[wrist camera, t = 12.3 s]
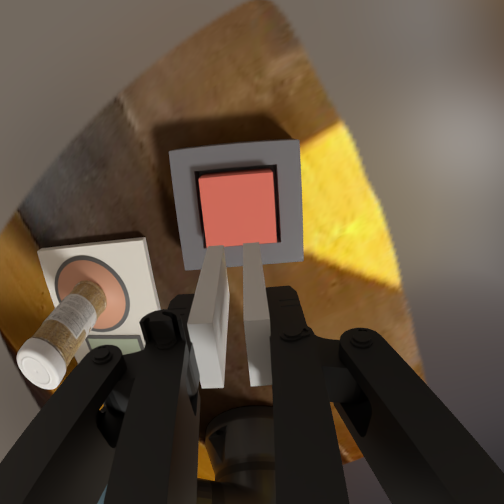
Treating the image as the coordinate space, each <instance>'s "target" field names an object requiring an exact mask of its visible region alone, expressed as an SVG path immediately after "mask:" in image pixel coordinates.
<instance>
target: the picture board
mask: <svg viewBox="0 0 504 504" xmlns="http://www.w3.org/2000/svg"><path fill="white" fill-rule="evenodd" d="M37 253H38V256H39V260H40V263H41V267H42V270H43V273H44V277H45V280H46V283H47V286H48V289H49V292H50V295H51V298H52V301H53V303H54V306H55V308H56V307H57V306H58V305H59V303H60V302H61V301H62V300H63V299H64V298H65V297H66V296H67V295H69V294H70V292H71V291H72V290H73V288H74V287H75V285H76V284H77V283H78V282H80V281H85V280H88V281H92V282H94V283H96V284H97V285H98V286H99V287H100V288H101V289H102V290H103V291H104V293H105V296H106V299H107V306H106V308H105V310H104V312H103V313H102V314H101V315H100V316H99V317H98V319H97V321H96V323H95V325H94V326H93V328H92V329H91V331H90V333H89V334H88V336H87V337H86V339H85V340H84V342H83V343H82V345H81V346H80V348H79V349H78V350H77V352H76V353H75V355H74V356H75V358H76V360H77V362H78V364H79V362H80V361H81V360H82V359H83V358H84V357H85V355H86V354H87V353H88V352H90V351H91V350H92V349H94V348H96V347H98V346H102V345H114V346H117V347H119V348H120V349H121V351H122V354H123V355H125V354H130V353H134V352H138V351H141V350H144V347H145V344H146V343H145V340H144V337H143V334H142V330H141V327H140V323H139V322H140V320H141V319H142V317H144V316H145V315H147V314H148V313H151V312H154V311H157V310H161V308H160V304H159V300H158V296H157V291H156V287H155V282H154V277H153V273H152V268H151V263H150V258H149V253H148V248H147V243H146V237H141V238H131V239H121V240H112V241H102V242H93V243H84V244H75V245H66V246H57V247H49V248H41V249H40V250H38V251H37Z"/></svg>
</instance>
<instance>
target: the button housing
mask: <svg viewBox="0 0 504 504" xmlns="http://www.w3.org/2000/svg"><path fill="white" fill-rule="evenodd" d="M169 159H170V167H171V176H172V184H173V192H174V199H175V207H176V214H177V221H178V228H179V234H180V241H181V247H182V253H183V260H184V266H185V270H196V269H202V266H203V262H204V259H205V255H206V251H207V246H206V238H205V230H204V222H203V214H202V205H201V197H200V188H199V178H200V177H201V175H202V174H206V173H216V172H227V171H238V170H251V169H264V168H270V169H271V171H272V172H273V183H274V199H275V217H276V236H277V243H264V244H259V246H260V253H261V260H262V264H274V263H286V262H298V261H303V215H302V187H301V164H300V145H299V140H297V139H277V140H260V141H246V142H234V143H223V144H213V145H204V146H195V147H187V148H179V149H174V150H171V151H169ZM224 252H225V261H226V267H236V266H243V245H239V246H226V247H224Z"/></svg>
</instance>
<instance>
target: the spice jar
mask: <svg viewBox="0 0 504 504" xmlns="http://www.w3.org/2000/svg"><path fill="white" fill-rule="evenodd" d="M106 306H107V299H106V296H105V293H104V291H103V290H102V289H101V288H100V287H99V286H98V285H97V284H96V283H94V282H92V281H88V280H85V281H80V282H78V283H77V284H76V285H75V287H74V288H73V290H72V291H71V292H70V294H69V295H67V296H66V297H65V298H64V299H63V300H62V301H61V302H60V303H59V305H58V306H57V307H56V308H55V309H54V310H53V311H52V313H51V314H50V315H49V316H48V317H47V318H46V319H45V321H44V322H43V323H42V325H41V327H40V328H39V329H38V330H37V331H36V333H35V334H34V335H33V336H32V337H31V338H30V339H28V340H27V341H26V342H25V343H24V344H23V345H22V347H21V348H20V350H19V351H18V353H17V363H18V366H19V368H20V370H21V371H22V373H23V374H24V375H25V377H26V378H27V379H28V380H30V381H31V382H32V383H33V384H35V385H37V386H39V387H41V388H44V389H54V388H56V387H57V386H58V385H59V384H60V382H61V380H62V379H63V377H64V375H65V373H66V368H67V366H68V364H69V363H70V361H71V360H72V358H73V357H74V355H75V353H76V352H77V350H78V349H79V348H80V346H81V345H82V343H83V342H84V340H85V339H86V337H87V336H88V334H89V333H90V331H91V329H92V328H93V326H94V325H95V323H96V321H97V319H98V317H99V316H100V315H101V314H102V313H103V312H104V310H105V308H106Z"/></svg>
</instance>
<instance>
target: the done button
mask: <svg viewBox="0 0 504 504" xmlns="http://www.w3.org/2000/svg"><path fill="white" fill-rule="evenodd" d="M199 188H200V197H201V205H202V214H203V222H204V230H205V238H206V246H207V248H208V246H218V245H224V247H226V246H239V245H243V243H255V242H259V244H264V243H277V236H276V217H275V199H274V183H273V172H272V171H271V169H270V168H264V169H251V170H238V171H227V172H216V173H206V174H202V175H201V177H200V178H199Z"/></svg>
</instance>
